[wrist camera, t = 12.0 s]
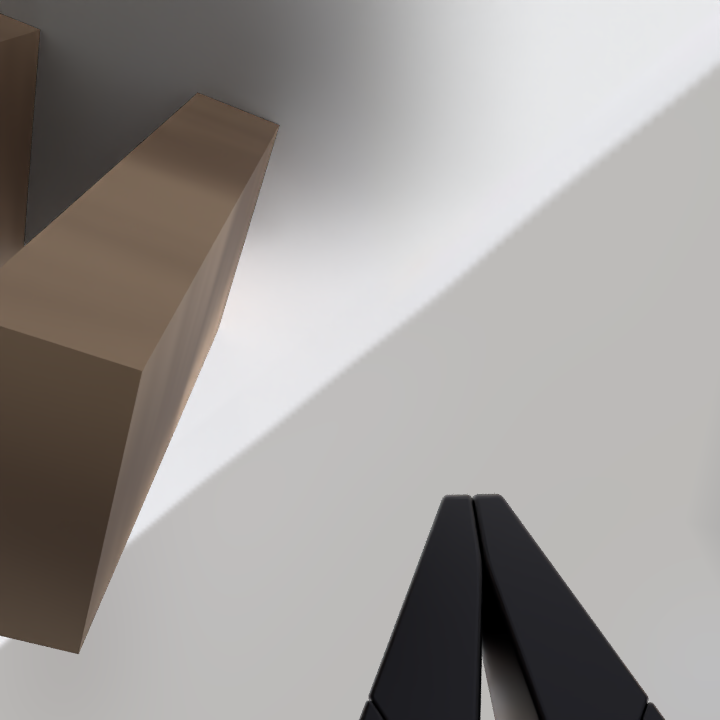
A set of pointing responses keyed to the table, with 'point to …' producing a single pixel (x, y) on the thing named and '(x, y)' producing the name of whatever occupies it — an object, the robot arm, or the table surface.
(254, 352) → the table surface
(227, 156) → the domino
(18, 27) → the domino
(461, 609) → the robot arm
